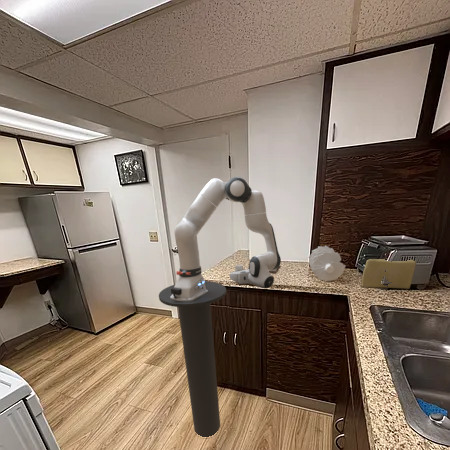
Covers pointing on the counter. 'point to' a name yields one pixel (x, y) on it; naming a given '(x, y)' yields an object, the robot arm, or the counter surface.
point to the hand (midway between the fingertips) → (238, 271)
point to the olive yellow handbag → (388, 273)
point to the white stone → (238, 267)
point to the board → (272, 270)
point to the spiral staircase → (326, 263)
